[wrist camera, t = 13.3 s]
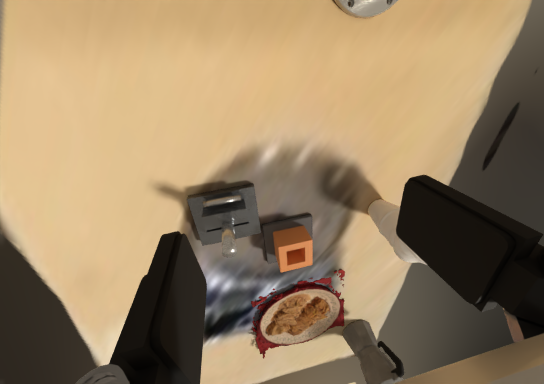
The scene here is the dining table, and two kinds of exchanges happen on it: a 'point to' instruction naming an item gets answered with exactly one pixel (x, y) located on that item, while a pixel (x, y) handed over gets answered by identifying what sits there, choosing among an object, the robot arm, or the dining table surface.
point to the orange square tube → (293, 248)
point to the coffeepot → (372, 355)
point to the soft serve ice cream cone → (391, 228)
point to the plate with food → (298, 314)
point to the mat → (283, 225)
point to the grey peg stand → (225, 216)
